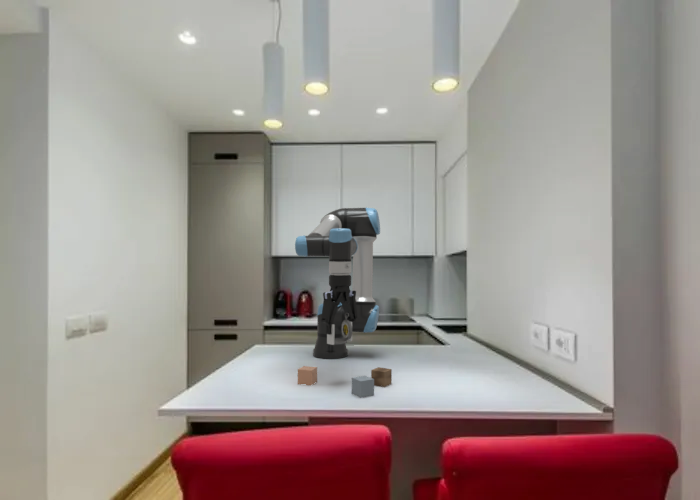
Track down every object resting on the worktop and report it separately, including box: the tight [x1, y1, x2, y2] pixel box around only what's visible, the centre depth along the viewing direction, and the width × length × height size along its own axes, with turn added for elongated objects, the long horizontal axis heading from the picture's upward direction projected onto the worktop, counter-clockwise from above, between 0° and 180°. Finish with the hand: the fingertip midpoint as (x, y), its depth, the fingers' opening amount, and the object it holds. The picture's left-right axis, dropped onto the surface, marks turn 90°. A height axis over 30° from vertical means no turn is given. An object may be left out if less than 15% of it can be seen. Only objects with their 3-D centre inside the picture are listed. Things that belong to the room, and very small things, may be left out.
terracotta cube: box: [297, 365, 318, 386], centre depth 152 cm, size 5×5×5 cm
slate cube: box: [351, 375, 375, 399], centre depth 139 cm, size 5×5×5 cm
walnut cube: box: [370, 366, 393, 388], centre depth 150 cm, size 5×5×5 cm
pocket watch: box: [334, 313, 353, 344], centre depth 151 cm, size 8×8×10 cm
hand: (339, 342), depth 151 cm, fingers closed on pocket watch, 8 cm apart
